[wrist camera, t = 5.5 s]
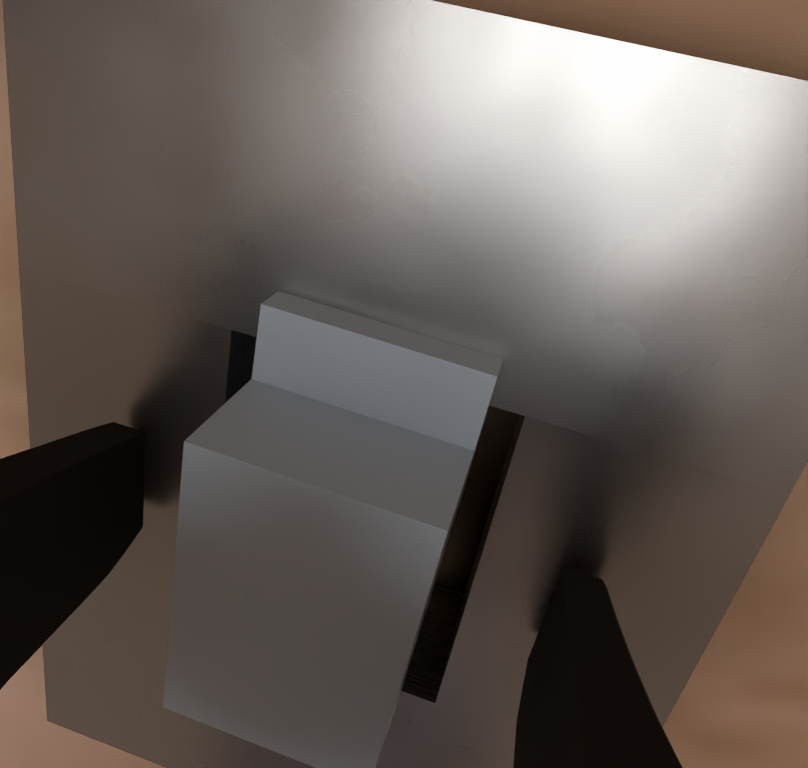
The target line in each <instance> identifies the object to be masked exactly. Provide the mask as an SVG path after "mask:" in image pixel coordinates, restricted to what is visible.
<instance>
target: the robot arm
mask: <svg viewBox="0 0 808 768" xmlns="http://www.w3.org/2000/svg"><path fill="white" fill-rule="evenodd" d="M145 435H146V432H143V431H140V430H137V429H134V428H131V427H128V426H124V425H121V424H118V423H115V422H112V423H108V424H104V425H101V426H97V427H94V428H91V429H88V430H85V431H81V432H78V433H75V434H72V435H69V436H67V437H64V438H61V439H58V440H55V441H52V442H49V443H46V444H43V445H40V446H37V447H34V448H31V449H29V450H26V451H23V452H20V453H17V454H14V455H11V456H8V457H5V458H2V459H0V689H1V688H2V687H3V686H4V685H5V684H6V682H7V681H8V680H9V679H10V678H11V677H12V676H13V675H14V674H15V673H16V672H17V671H18V670H19V669H20V667H21V666H22V665H23V664H24V663H25V662H26V661H27V660H28V659H29V658H30V657H31V656H32V655H33V654H34V653H35V652H36V651H37V650H38V649H39V648H40V647H41V646H42V644H43V643H44V642H45V641H46V640H47V639H48V638H49V637H50V636H51V635H52V634H53V633H54V632H55V631H56V630H57V629H58V628H59V627H60V626H61V625H62V624H63V623H64V622H65V620H66V619H67V618H68V617H69V616H70V615H71V614H72V613H73V612H74V611H75V610H76V609H77V608H78V607H79V606H80V605H81V604H82V603H83V601H84V600H85V599H86V598H87V597H88V596H89V595H90V594H91V593H92V592H93V591H94V590H95V589H96V588H97V587H98V585H99V584H100V583H101V582H102V581H103V580H104V579H105V578H106V577H107V576H108V575H109V573H110V572H111V571H112V569H113V568H114V567H115V565H116V564H117V563H118V561H119V560H120V559H121V557H122V556H123V555H124V553H125V552H126V550H127V549H128V548H129V546H130V545H131V543H132V542H133V540H134V539H135V538H136V536H137V535H138V533H139V532H140V530H141V529H142V528H143V510H144V473H145ZM513 768H682V766H681V764H680V762H679V760H678V758H677V756H676V754H675V752H674V750H673V748H672V746H671V744H670V742H669V740H668V738H667V736H666V734H665V732H664V730H663V728H662V726H661V724H660V721H659V719H658V717H657V715H656V713H655V711H654V708H653V706H652V704H651V702H650V699H649V697H648V695H647V692H646V690H645V688H644V685H643V683H642V681H641V678H640V676H639V674H638V671H637V669H636V667H635V664H634V662H633V659H632V657H631V654H630V652H629V649H628V646H627V644H626V641H625V638H624V636H623V633H622V630H621V627H620V625H619V622H618V619H617V616H616V613H615V610H614V608H613V605H612V602H611V599H610V595H609V592H608V589H607V587H606V585H605V583H604V581H603V579H600V578H596V577H593V576H590V575H587V574H584V573H581V572H578V571H575V570H572V569H569V568H565V567H563V569H562V572H561V575H560V577H559V580H558V582H557V585H556V588H555V590H554V593H553V595H552V598H551V601H550V603H549V606H548V608H547V611H546V613H545V616H544V619H543V621H542V624H541V626H540V629H539V632H538V634H537V637H536V639H535V642H534V644H533V647H532V650H531V652H530V655H529V657H528V661H527V667H526V672H525V677H524V682H523V688H522V693H521V699H520V704H519V710H518V716H517V723H516V736H515V750H514V764H513Z"/></svg>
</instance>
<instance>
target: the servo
mask: <svg viewBox="0 0 808 768" xmlns="http://www.w3.org/2000/svg"><path fill="white" fill-rule="evenodd" d="M502 362H503V359H500V358H497V357H494V356H490V355H487V354H484V353H481V352H477V351H474V350H471V349H467V348H464V347H461V346H458V345H454V344H451V343H448V342H444V341H441V340H438V339H434V338H431V337H428V336H425V335H421V334H418V333H415V332H411V331H408V330H405V329H402V328H398V327H395V326H392V325H388V324H385V323H382V322H379V321H375V320H372V319H369V318H365V317H362V316H359V315H356V314H352V313H349V312H346V311H342V310H339V309H336V308H332V307H329V306H326V305H323V304H319V303H316V302H313V301H309V300H306V299H303V298H300V297H296V296H293V295H290V294H286V293H283V292H280V291H278V292H277V293H275V294H274V295H272V296H271V297H270V298H268V299H267V300H266V301H264V302H263V303H262V304H261V307H260V315H259V323H258V331H257V339H256V347H255V355H254V363H253V371H252V379H251V380H250V381H249V382H248V383H247V384H245V385H244V386H243V387H242V388H241V389H240V390H239V391H238V392H237V393H236V394H235V395H234V396H232V397H231V398H230V399H229V400H228V401H227V402H226V403H225V404H224V405H223V406H222V407H221V408H219V409H218V410H217V411H216V412H215V413H214V414H213V415H212V416H211V417H210V418H209V419H208V420H206V421H205V422H204V423H203V424H202V425H201V426H200V427H199V428H198V429H197V430H196V431H195V432H193V433H192V434H191V435H190V436H189V437H188V438H187V439H186V440H185V441H184V447H183V459H182V472H181V485H180V497H179V510H178V523H177V535H176V548H175V561H174V573H173V586H172V599H171V611H170V624H169V636H168V649H167V662H166V674H165V687H164V700H163V708H166V709H168V710H171V711H173V712H176V713H179V714H181V715H184V716H186V717H189V718H191V719H194V720H196V721H199V722H201V723H204V724H206V725H209V726H211V727H214V728H216V729H219V730H221V731H224V732H227V733H229V734H232V735H234V736H237V737H239V738H242V739H244V740H247V741H249V742H252V743H254V744H257V745H259V746H262V747H264V748H267V749H270V750H272V751H275V752H277V753H280V754H282V755H285V756H287V757H290V758H292V759H295V760H297V761H300V762H302V763H305V764H307V765H310V766H313V767H315V768H376V765H377V762H378V759H379V756H380V752H381V749H382V746H383V743H384V740H385V737H386V734H387V733H388V730H389V727H390V724H391V721H392V718H393V714H394V711H395V708H396V705H397V702H398V699H399V695H400V692H401V689H402V686H403V682H404V679H405V676H406V673H407V669H408V666H409V663H410V660H411V657H412V654H413V651H414V648H415V644H416V641H417V638H418V635H419V632H420V629H421V626H422V623H423V620H424V617H425V614H426V611H427V607H428V604H429V601H430V598H431V595H432V592H433V589H434V586H435V583H436V580H437V577H438V574H439V570H440V567H441V564H442V561H443V558H444V555H445V552H446V548H447V545H448V542H449V539H450V536H451V532H452V529H453V526H454V523H455V519H456V516H457V513H458V510H459V507H460V503H461V500H462V497H463V494H464V490H465V487H466V484H467V481H468V478H469V474H470V471H471V468H472V465H473V461H474V458H475V455H476V452H477V449H478V445H479V442H480V439H481V436H482V432H483V429H484V426H485V423H486V420H487V416H488V413H489V410H490V407H491V406H489V404H490V401H491V398H492V394H493V391H494V388H495V385H496V381H497V378H498V375H499V372H500V368H501V365H502Z"/></svg>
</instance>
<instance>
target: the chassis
mask: <svg viewBox="0 0 808 768" xmlns="http://www.w3.org/2000/svg"><path fill="white" fill-rule="evenodd" d="M3 15H4V31H5V48H6V64H7V80H8V96H9V112H10V128H11V144H12V160H13V176H14V192H15V208H16V224H17V240H18V257H19V273H20V289H21V305H22V321H23V337H24V353H25V369H26V385H27V401H28V417H29V433H30V449H31V448H34V447H37V446H40V445H43V444H46V443H49V442H52V441H55V440H58V439H61V438H64V437H67V436H69V435H72V434H75V433H78V432H81V431H85V430H88V429H91V428H94V427H97V426H101V425H104V424H108V423H112V422H115V423H118V424H121V425H124V426H128V427H131V428H134V429H137V430H140V431H143V432H146V435H145V473H144V510H143V528H142V529H141V530H140V532H139V533H138V535H137V536H136V538H135V539H134V540H133V542H132V543H131V545H130V546H129V548H128V549H127V550H126V552H125V553H124V555H123V556H122V557H121V559H120V560H119V561H118V563H117V564H116V565H115V567H114V568H113V569H112V571H111V572H110V573H109V575H108V576H107V577H106V578H105V579H104V580H103V581H102V582H101V583H100V584H99V585H98V587H97V588H96V589H95V590H94V591H93V592H92V593H91V594H90V595H89V596H88V597H87V598H86V599H85V600H84V601H83V603H82V604H81V605H80V606H79V607H78V608H77V609H76V610H75V611H74V612H73V613H72V614H71V615H70V616H69V617H68V618H67V619H66V620H65V622H64V623H63V624H62V625H61V626H60V627H59V628H58V629H57V630H56V631H55V632H54V633H53V634H52V635H51V636H50V637H49V638H48V639H47V640H46V641H45V642H44V643H43V658H44V674H45V690H46V707H47V721H49V722H52V723H54V724H57V725H59V726H62V727H65V728H67V729H70V730H72V731H75V732H77V733H80V734H82V735H85V736H87V737H90V738H92V739H95V740H98V741H100V742H103V743H105V744H108V745H110V746H113V747H115V748H118V749H120V750H123V751H126V752H128V753H131V754H133V755H136V756H138V757H141V758H143V759H146V760H148V761H151V762H153V763H156V764H159V765H161V766H164V767H166V768H315V767H313V766H310V765H307V764H305V763H302V762H300V761H297V760H295V759H292V758H290V757H287V756H285V755H282V754H280V753H277V752H275V751H272V750H270V749H267V748H264V747H262V746H259V745H257V744H254V743H252V742H249V741H247V740H244V739H242V738H239V737H237V736H234V735H232V734H229V733H227V732H224V731H221V730H219V729H216V728H214V727H211V726H209V725H206V724H204V723H201V722H199V721H196V720H194V719H191V718H189V717H186V716H184V715H181V714H179V713H176V712H173V711H171V710H168V709H166V708H163V700H164V687H165V674H166V662H167V649H168V636H169V624H170V611H171V599H172V586H173V573H174V561H175V548H176V535H177V523H178V510H179V497H180V485H181V472H182V459H183V447H184V441H185V440H186V439H187V438H188V437H189V436H190V435H191V434H192V433H193V432H195V431H196V430H197V429H198V428H199V427H200V426H201V425H202V424H203V423H204V422H205V421H206V420H208V419H209V418H210V417H211V416H212V415H213V414H214V413H215V412H216V411H217V410H218V409H219V408H221V407H222V406H223V405H224V404H225V403H226V402H227V401H228V400H229V399H230V398H231V397H232V396H234V395H235V394H236V393H237V392H238V391H239V390H240V389H241V388H242V387H243V386H244V385H245V384H247V383H248V382H249V381H250V380H251V379H252V371H253V363H254V355H255V347H256V339H257V331H258V323H259V315H260V307H261V304H262V303H263V302H264V301H266V300H267V299H268V298H270V297H271V296H272V295H274V294H275V293H277V292H278V291H280V292H283V293H286V294H290V295H293V296H296V297H300V298H303V299H306V300H309V301H313V302H316V303H319V304H323V305H326V306H329V307H332V308H336V309H339V310H342V311H346V312H349V313H352V314H356V315H359V316H362V317H365V318H369V319H372V320H375V321H379V322H382V323H385V324H388V325H392V326H395V327H398V328H402V329H405V330H408V331H411V332H415V333H418V334H421V335H425V336H428V337H431V338H434V339H438V340H441V341H444V342H448V343H451V344H454V345H458V346H461V347H464V348H467V349H471V350H474V351H477V352H481V353H484V354H487V355H490V356H494V357H497V358H500V359H503V362H502V365H501V368H500V372H499V375H498V378H497V381H496V385H495V388H494V391H493V394H492V398H491V401H490V404H489V406H492V407H495V408H499V409H502V410H506V411H509V412H512V413H516V414H519V418H518V421H517V425H516V428H515V431H514V434H513V437H512V441H511V444H510V447H509V450H508V454H507V457H506V460H505V463H504V467H503V470H502V473H501V476H500V479H499V483H498V486H497V489H496V492H495V496H494V499H493V502H492V505H491V509H490V512H489V515H488V518H487V522H486V525H485V528H484V531H483V534H482V538H481V541H480V544H479V547H478V551H477V554H476V557H475V560H474V564H473V567H472V570H471V573H470V577H469V580H468V583H467V586H466V589H465V593H464V594H463V593H460V592H457V591H454V590H451V589H448V588H445V587H442V586H439V585H436V584H435V586H434V589H433V592H432V595H431V598H430V601H429V604H428V607H427V611H426V614H425V617H424V620H423V623H422V626H421V629H420V632H419V635H418V638H417V641H416V644H415V648H414V651H413V654H412V657H411V660H410V663H409V666H408V669H407V673H406V676H405V679H404V682H403V686H402V689H401V692H400V695H399V699H398V702H397V705H396V708H395V711H394V714H393V718H392V721H391V724H390V727H389V730H388V733H387V734H386V737H385V740H384V743H383V746H382V749H381V752H380V756H379V759H378V762H377V765H376V768H513V764H514V750H515V736H516V723H517V716H518V710H519V704H520V699H521V693H522V688H523V682H524V677H525V672H526V667H527V661H528V657H529V655H530V652H531V650H532V647H533V644H534V642H535V639H536V637H537V634H538V632H539V629H540V626H541V624H542V621H543V619H544V616H545V613H546V611H547V608H548V606H549V603H550V601H551V598H552V595H553V593H554V590H555V588H556V585H557V582H558V580H559V577H560V575H561V572H562V569H563V567H565V568H569V569H572V570H575V571H578V572H581V573H584V574H587V575H590V576H593V577H596V578H600V579H603V581H604V583H605V585H606V587H607V589H608V592H609V595H610V599H611V602H612V605H613V608H614V610H615V613H616V616H617V619H618V622H619V625H620V627H621V630H622V633H623V636H624V638H625V641H626V644H627V646H628V649H629V652H630V654H631V657H632V659H633V662H634V664H635V667H636V669H637V671H638V674H639V676H640V678H641V681H642V683H643V685H644V688H645V690H646V692H647V695H648V697H649V699H650V702H651V704H652V706H653V708H654V711H655V713H656V715H657V717H658V719H659V721H660V724H661V726H662V727H663V725H664V723H665V722H666V720H667V718H668V716H669V714H670V712H671V711H672V709H673V707H674V705H675V703H676V701H677V700H678V698H679V696H680V694H681V692H682V690H683V689H684V687H685V685H686V683H687V681H688V679H689V678H690V676H691V674H692V672H693V670H694V668H695V667H696V665H697V663H698V661H699V659H700V657H701V656H702V654H703V652H704V650H705V648H706V646H707V645H708V643H709V641H710V639H711V637H712V635H713V634H714V632H715V630H716V628H717V626H718V625H719V623H720V621H721V619H722V617H723V615H724V614H725V612H726V610H727V608H728V606H729V604H730V603H731V601H732V599H733V597H734V595H735V593H736V592H737V590H738V588H739V586H740V584H741V582H742V581H743V579H744V577H745V575H746V573H747V571H748V570H749V568H750V566H751V564H752V562H753V560H754V559H755V557H756V555H757V553H758V551H759V549H760V548H761V546H762V544H763V542H764V540H765V538H766V537H767V535H768V533H769V531H770V529H771V527H772V526H773V524H774V522H775V520H776V518H777V516H778V515H779V513H780V511H781V509H782V507H783V506H784V504H785V502H786V500H787V498H788V496H789V495H790V493H791V491H792V489H793V487H794V485H795V484H796V482H797V480H798V478H799V476H800V474H801V473H802V471H803V469H804V467H805V465H806V463H807V462H808V81H805V80H800V79H796V78H791V77H786V76H782V75H777V74H772V73H768V72H763V71H758V70H754V69H749V68H745V67H740V66H735V65H731V64H726V63H721V62H717V61H712V60H707V59H703V58H698V57H693V56H689V55H684V54H679V53H675V52H670V51H665V50H661V49H656V48H651V47H647V46H642V45H637V44H633V43H628V42H623V41H619V40H614V39H609V38H605V37H600V36H595V35H591V34H586V33H581V32H577V31H572V30H567V29H563V28H558V27H553V26H549V25H544V24H539V23H535V22H530V21H525V20H521V19H516V18H511V17H507V16H502V15H497V14H493V13H488V12H483V11H479V10H474V9H469V8H465V7H460V6H456V5H451V4H446V3H442V2H437V1H432V0H3Z"/></svg>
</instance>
